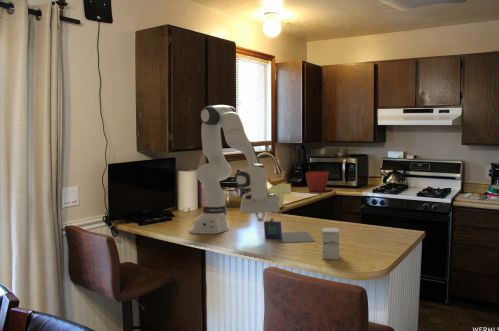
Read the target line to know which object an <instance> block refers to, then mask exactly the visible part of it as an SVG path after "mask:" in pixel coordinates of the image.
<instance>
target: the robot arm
mask: <svg viewBox="0 0 499 331" xmlns="http://www.w3.org/2000/svg"><path fill="white" fill-rule="evenodd" d="M200 120H201V123H202V124H201V133H200V135H201V145H202V153H203V155H205V157H206V158H207V160H208V163H205V164H204V163H203V164H201V165H200V166H199V167H197V170H196V179H197V180H198V181H199V182H200V183H201V185H202V186H203V189H204V194H205V205H202V207H201V209H202V213H200V214H199V215H198V216H197V217H196V218H195V219H194V221H193V225H192V226H191V227H190V228H189V233H191V234H220V233H223V232H227V231H229V230H230V228H229V225H228V221H227V205H226V193H225V190H224V189H222V187H221V183H220V181H221V182H222V181H224V180H227V179H228V178H229V177H230V176H231V175H232V173H233V172H232V171H233V170H232V166H231V165H230V164H229V163H228V161H227V160H226V158H225V155H224V151H223V144H222V134H221V128H222V130H223V134H224V138H225V142H226V144H227V146H229V147H230V148H231V149H234V150H236V151H239V152H240V153H242V154H243V155H244V156H245V159H246V161H247V163H248V167H247V168H244V169H242V170H240V171H237V173H236V175H235V183H236V185H237V186H238V188H240V189H247V188H250V191H248V192H245V193H243V194H242V199H241V203H240V213H241V214H242V215H243V214H244V215H246V214H254V215H255V217H256V219H257V222H264V218H265V216H266V213H278V212H279V211H280V208H279V203H278V202H279V196H278V195H277V196H276V194H269V192H268V188H267V181H268V174H267V173H268V171H267V168H266V166H265V164H262V163H260V160H259V157H258V155H257V152H256V149H255V148H254V145H253V143H252V142H251V141H250V140H249V138H248V136H247V134H246V131H245V128H244V125H243V124H244V123H243V122H242V120H241V118H240V116H239V114H238V111H237V110H236V108H235V107H234V106H232V105H225V104H216V105H207V106H204V107H203V108H202V109H201V111H200ZM260 213H261V214H262V216H261V217H260V216H258V215H259V214H260Z"/></svg>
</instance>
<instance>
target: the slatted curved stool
mask: <svg viewBox="0 0 499 331" xmlns="http://www.w3.org/2000/svg"><path fill="white" fill-rule="evenodd" d="M267 188H268V194H276V196H277V195H278V196H279V202H278V203H279V209H280V208H282V207H283V206H284V200H285V195H286V196H287V195H292V186H291V185H290V184H288V183H286V184H278V185H277V184H274V185H273V184H271V183H270V182H269V180H267Z"/></svg>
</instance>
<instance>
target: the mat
mask: <svg viewBox="0 0 499 331" xmlns="http://www.w3.org/2000/svg"><path fill="white" fill-rule="evenodd" d="M277 240H278V242H279V244H289V243H290V244H291V243H296V244H297V243H312V242H313V243H314V242H316V240H315V239H314V238H313V236H312V235H310V233H309V232H308V231H296V232H295V231H294V232H293V231H292V232H291V231H290V232H282V238H279V239H278V238H277Z"/></svg>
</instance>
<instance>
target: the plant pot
mask: <svg viewBox="0 0 499 331" xmlns="http://www.w3.org/2000/svg"><path fill="white" fill-rule="evenodd" d="M329 173H330V172H329V171H307V172H306V173H305V179H306V180H305V181H306V184H307V188H308V191H309V193H325V192H326V188H327V185H328V184H327V183H328V178H329Z"/></svg>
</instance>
